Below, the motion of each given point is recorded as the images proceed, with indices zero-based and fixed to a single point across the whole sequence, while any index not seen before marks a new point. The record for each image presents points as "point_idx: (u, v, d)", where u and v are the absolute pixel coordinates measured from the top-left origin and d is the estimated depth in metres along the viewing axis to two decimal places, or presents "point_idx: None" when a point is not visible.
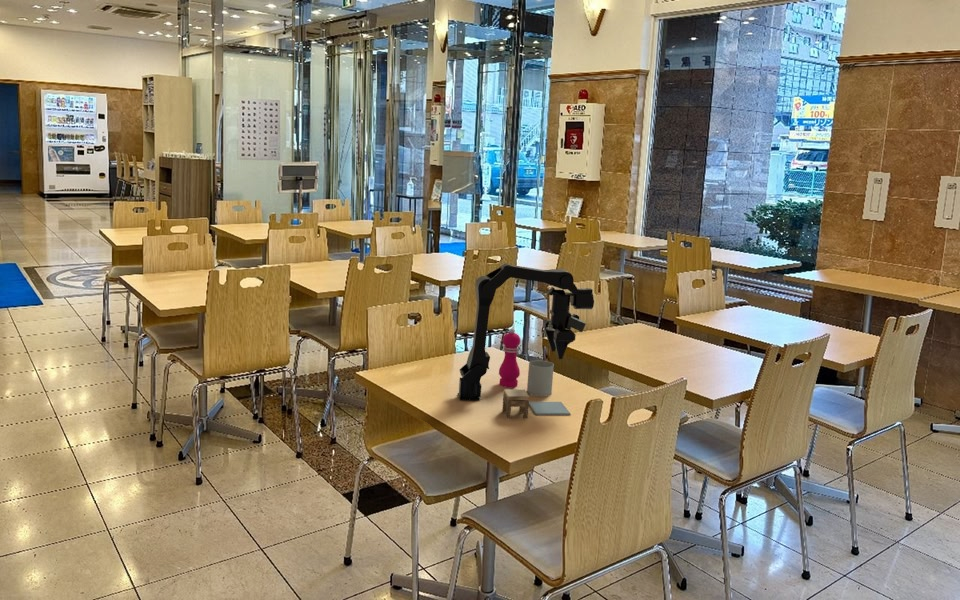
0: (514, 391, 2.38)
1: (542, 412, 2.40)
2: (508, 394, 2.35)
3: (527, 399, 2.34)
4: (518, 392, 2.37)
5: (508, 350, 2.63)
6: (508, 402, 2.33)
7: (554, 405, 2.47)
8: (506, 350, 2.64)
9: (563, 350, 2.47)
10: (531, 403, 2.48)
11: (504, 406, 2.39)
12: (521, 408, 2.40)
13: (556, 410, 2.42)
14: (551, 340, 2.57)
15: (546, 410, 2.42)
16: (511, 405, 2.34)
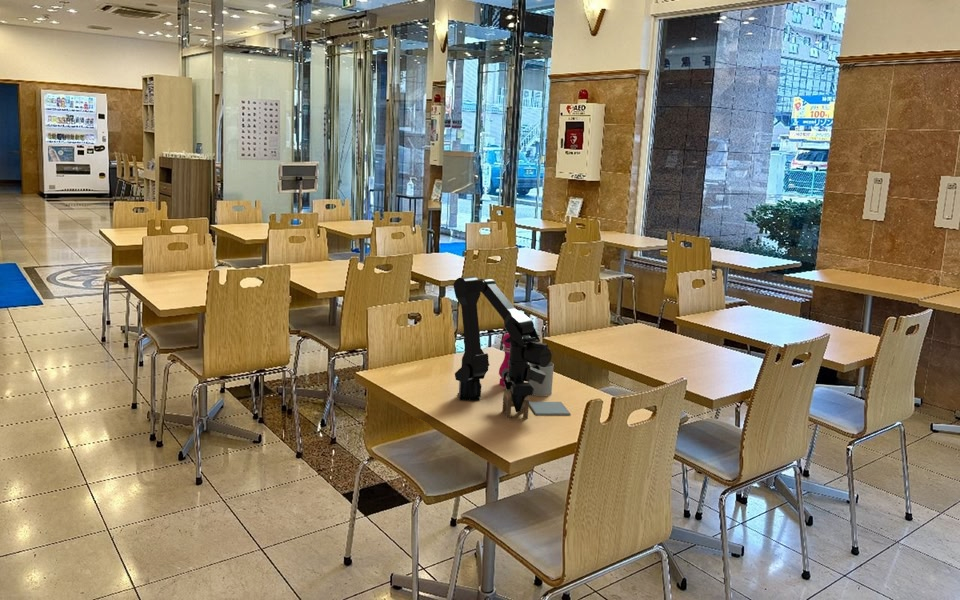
0: None
1: (542, 412, 2.40)
2: (508, 394, 2.35)
3: (527, 399, 2.34)
4: None
5: (508, 350, 2.63)
6: (508, 402, 2.33)
7: (554, 405, 2.47)
8: (506, 350, 2.64)
9: (520, 403, 2.33)
10: (531, 403, 2.48)
11: (504, 406, 2.39)
12: (521, 408, 2.40)
13: (556, 410, 2.42)
14: None
15: (546, 410, 2.42)
16: (511, 405, 2.34)
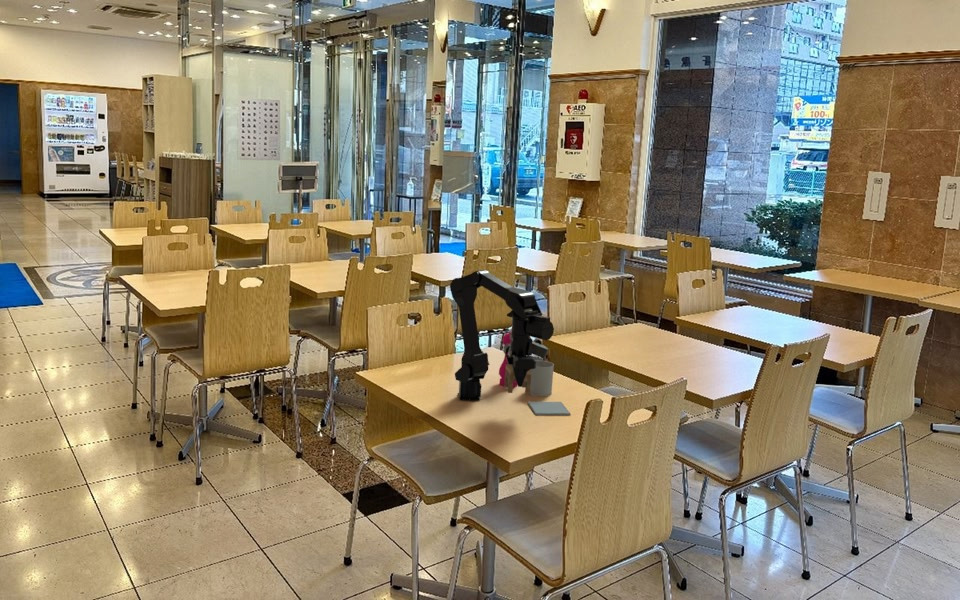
0: None
1: (542, 412, 2.40)
2: (510, 368, 2.33)
3: (529, 373, 2.33)
4: None
5: None
6: (510, 376, 2.32)
7: (554, 405, 2.47)
8: None
9: (522, 377, 2.31)
10: (531, 403, 2.48)
11: (506, 381, 2.38)
12: (523, 383, 2.39)
13: (556, 410, 2.42)
14: None
15: (546, 410, 2.42)
16: (513, 379, 2.32)
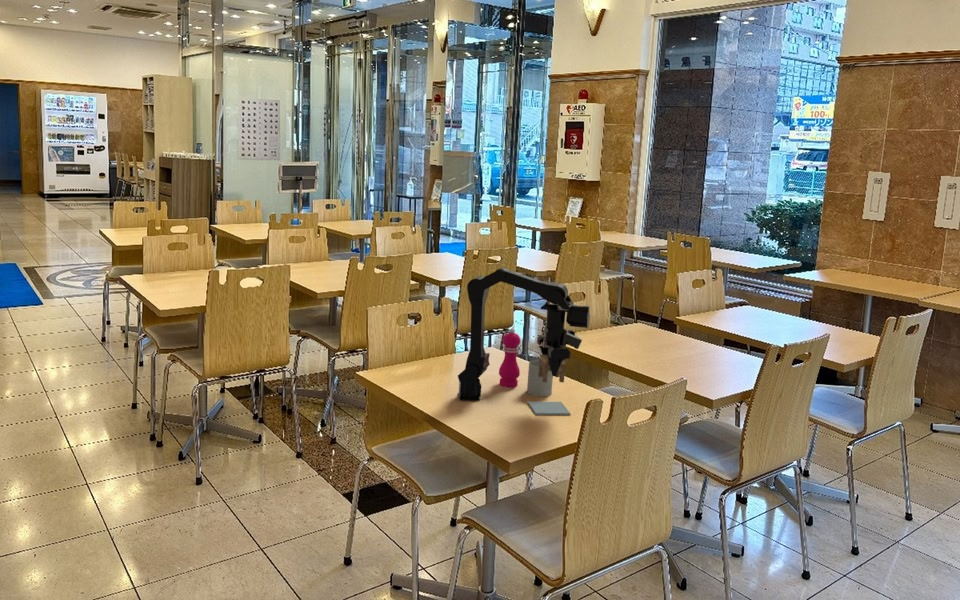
0: None
1: (542, 412, 2.40)
2: (545, 358, 2.40)
3: (563, 363, 2.39)
4: None
5: (508, 350, 2.63)
6: (545, 366, 2.38)
7: (554, 405, 2.47)
8: (506, 350, 2.64)
9: (557, 367, 2.38)
10: (531, 403, 2.48)
11: (540, 370, 2.44)
12: (557, 373, 2.45)
13: (556, 410, 2.42)
14: None
15: (546, 410, 2.42)
16: (548, 369, 2.39)
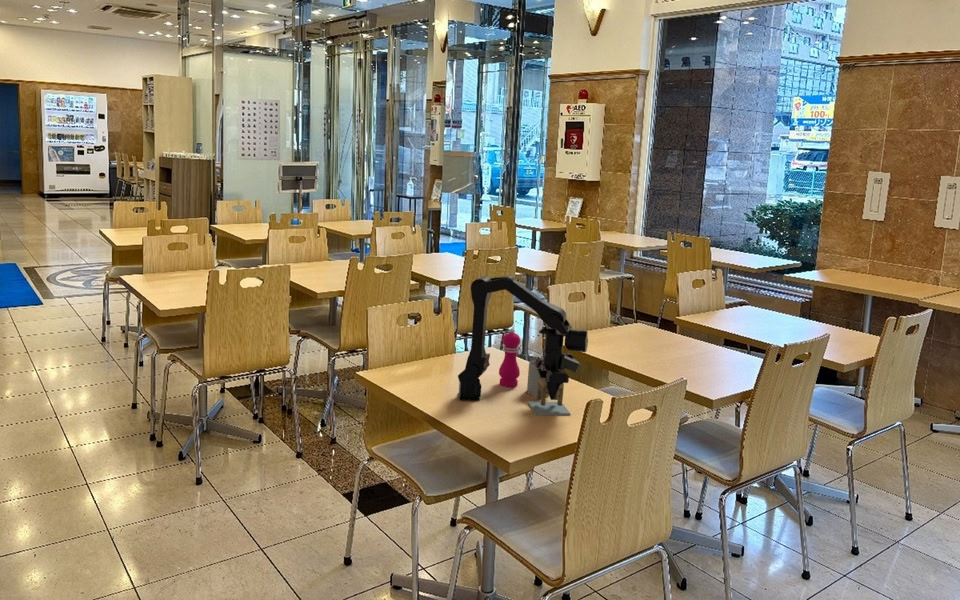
0: None
1: (542, 412, 2.40)
2: (543, 382, 2.41)
3: (561, 387, 2.41)
4: None
5: (508, 350, 2.63)
6: (543, 390, 2.40)
7: (554, 405, 2.47)
8: (506, 350, 2.64)
9: (555, 391, 2.39)
10: (531, 403, 2.48)
11: (538, 393, 2.46)
12: (555, 396, 2.47)
13: (556, 410, 2.42)
14: None
15: (546, 410, 2.42)
16: (546, 392, 2.40)
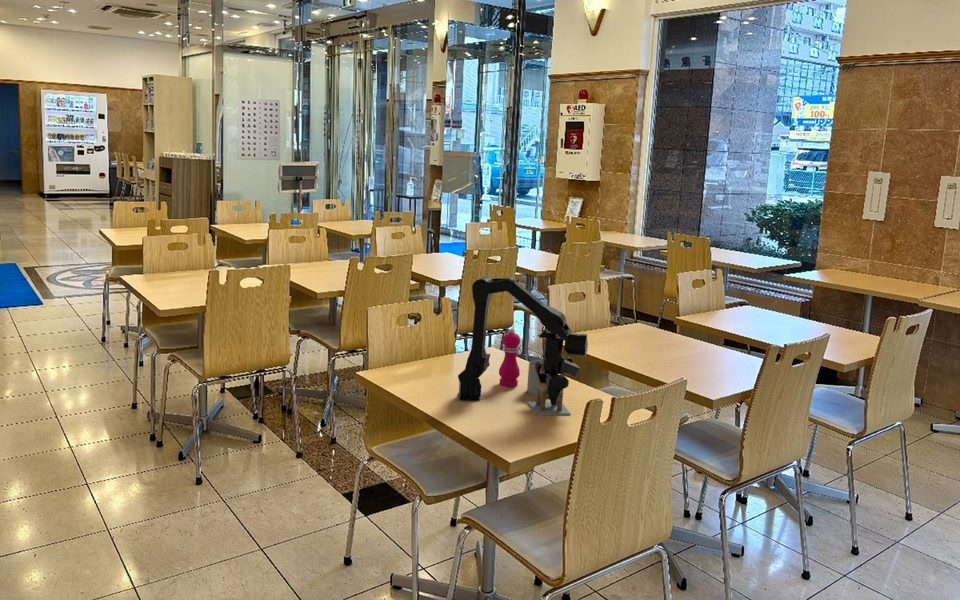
0: None
1: (542, 412, 2.40)
2: (543, 387, 2.41)
3: (561, 392, 2.41)
4: None
5: (508, 350, 2.63)
6: (543, 395, 2.40)
7: (554, 405, 2.47)
8: (506, 350, 2.64)
9: (556, 396, 2.38)
10: (531, 403, 2.48)
11: (538, 399, 2.46)
12: None
13: (556, 410, 2.42)
14: None
15: (546, 410, 2.42)
16: (545, 398, 2.41)
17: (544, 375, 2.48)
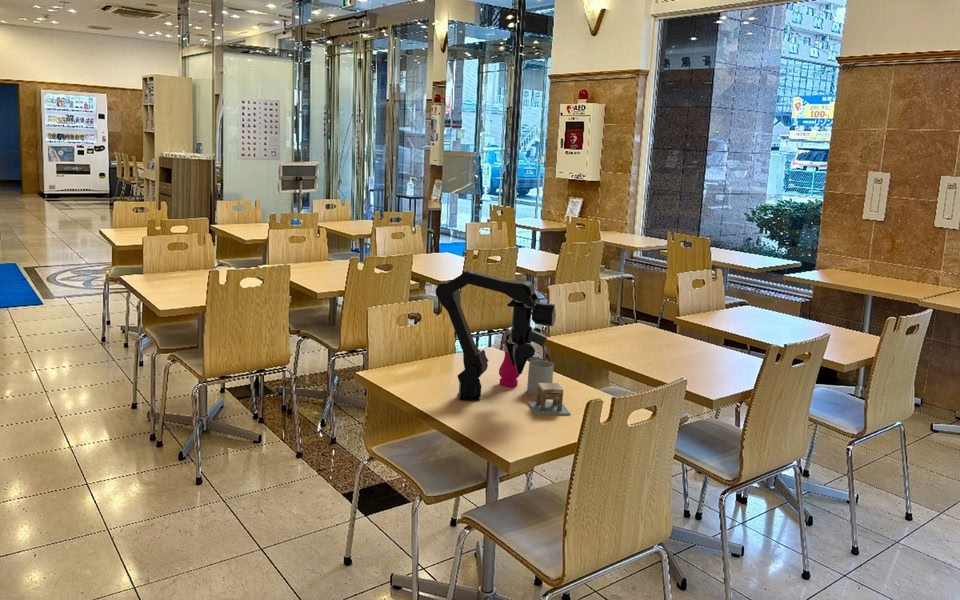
0: (548, 384, 2.45)
1: (542, 412, 2.40)
2: (543, 387, 2.41)
3: (561, 392, 2.41)
4: (552, 386, 2.44)
5: None
6: (543, 395, 2.40)
7: (554, 405, 2.47)
8: (506, 350, 2.64)
9: (522, 365, 2.39)
10: (531, 403, 2.48)
11: (538, 399, 2.46)
12: (554, 401, 2.47)
13: (556, 410, 2.42)
14: (511, 353, 2.49)
15: (546, 410, 2.42)
16: (545, 398, 2.41)
17: (512, 345, 2.49)
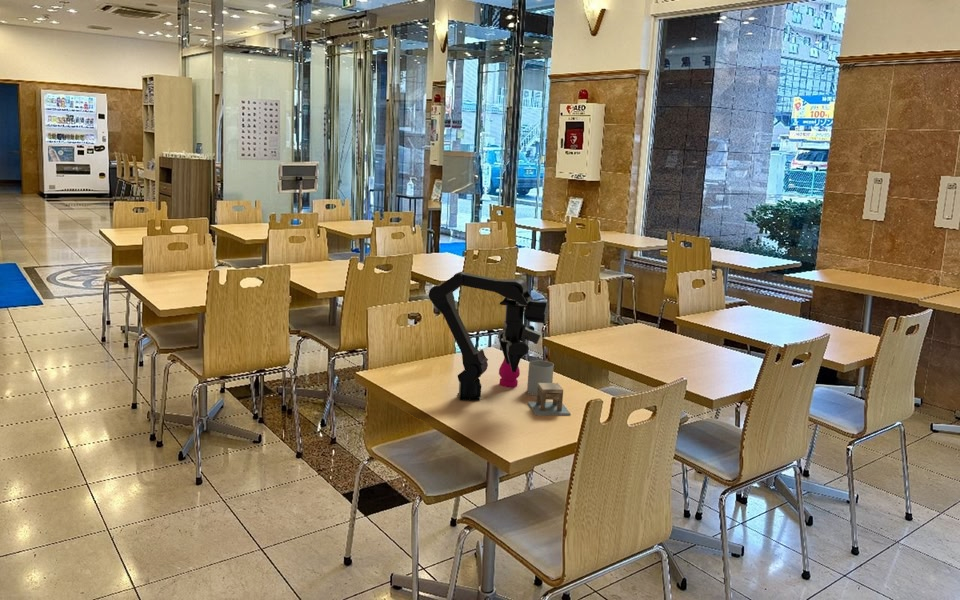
0: (548, 384, 2.45)
1: (542, 412, 2.40)
2: (543, 387, 2.41)
3: (561, 392, 2.41)
4: (552, 386, 2.44)
5: None
6: (543, 395, 2.40)
7: (554, 405, 2.47)
8: None
9: (516, 363, 2.39)
10: (531, 403, 2.48)
11: (538, 399, 2.46)
12: (554, 401, 2.47)
13: (556, 410, 2.42)
14: (505, 352, 2.49)
15: (546, 410, 2.42)
16: (545, 398, 2.41)
17: (506, 343, 2.49)
